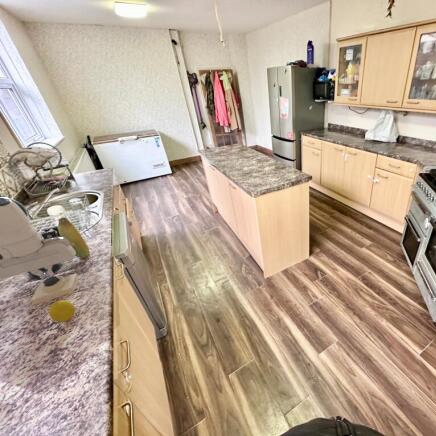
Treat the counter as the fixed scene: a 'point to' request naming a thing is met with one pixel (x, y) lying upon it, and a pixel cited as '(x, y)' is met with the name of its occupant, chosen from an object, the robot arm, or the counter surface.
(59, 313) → the lemon
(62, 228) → the vegetable
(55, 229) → the black handle
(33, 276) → the kettle
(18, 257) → the robot arm
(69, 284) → the socket block
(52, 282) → the power button
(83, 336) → the counter surface
